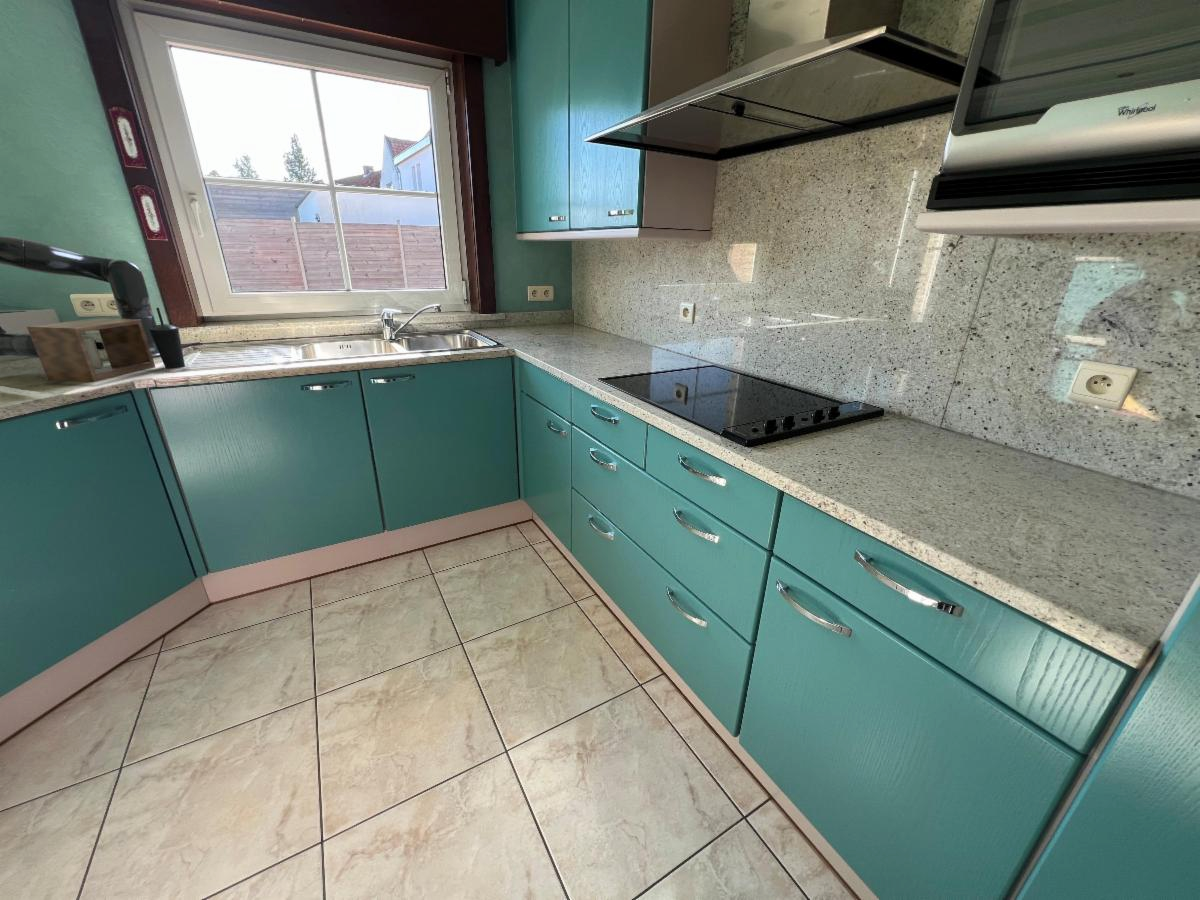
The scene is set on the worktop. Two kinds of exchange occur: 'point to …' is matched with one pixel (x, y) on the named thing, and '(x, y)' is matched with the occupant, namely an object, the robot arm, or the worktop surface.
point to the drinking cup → (168, 344)
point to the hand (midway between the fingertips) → (92, 347)
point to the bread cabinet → (69, 355)
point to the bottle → (92, 350)
